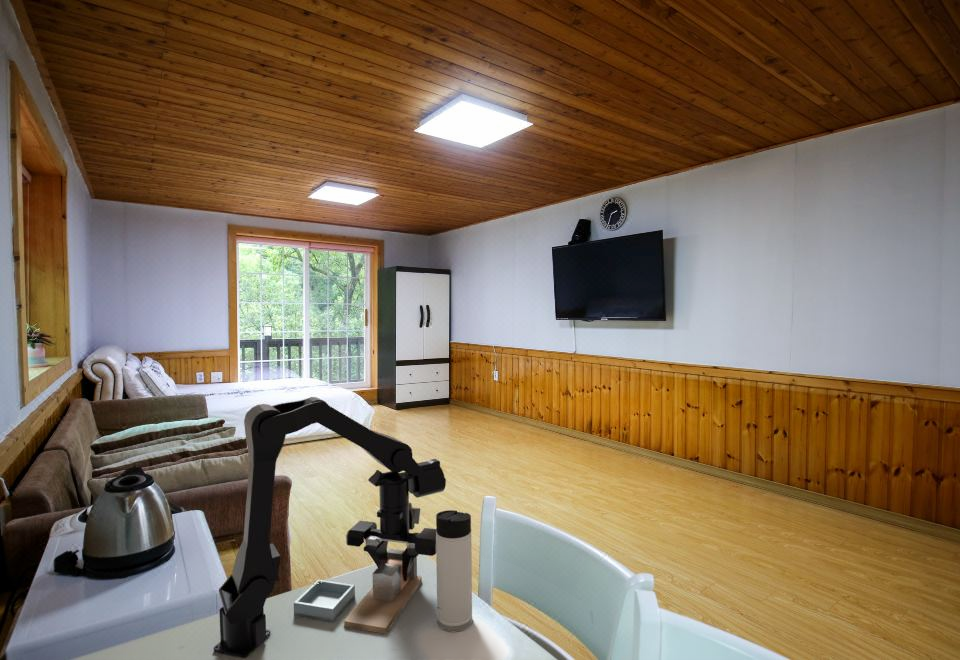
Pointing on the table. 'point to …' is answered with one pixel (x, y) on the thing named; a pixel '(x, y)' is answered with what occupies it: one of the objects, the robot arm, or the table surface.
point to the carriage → (386, 582)
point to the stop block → (399, 562)
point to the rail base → (383, 603)
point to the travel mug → (454, 570)
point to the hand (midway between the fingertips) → (395, 578)
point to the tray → (324, 600)
